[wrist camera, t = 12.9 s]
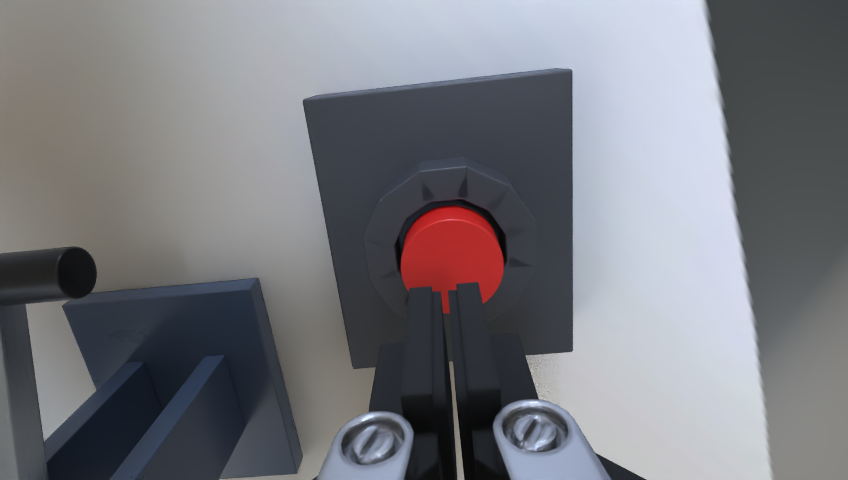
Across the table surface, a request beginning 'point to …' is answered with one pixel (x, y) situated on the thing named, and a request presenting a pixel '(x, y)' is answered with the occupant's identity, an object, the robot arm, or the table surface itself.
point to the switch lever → (11, 349)
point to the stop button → (452, 252)
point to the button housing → (450, 196)
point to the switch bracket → (177, 388)
